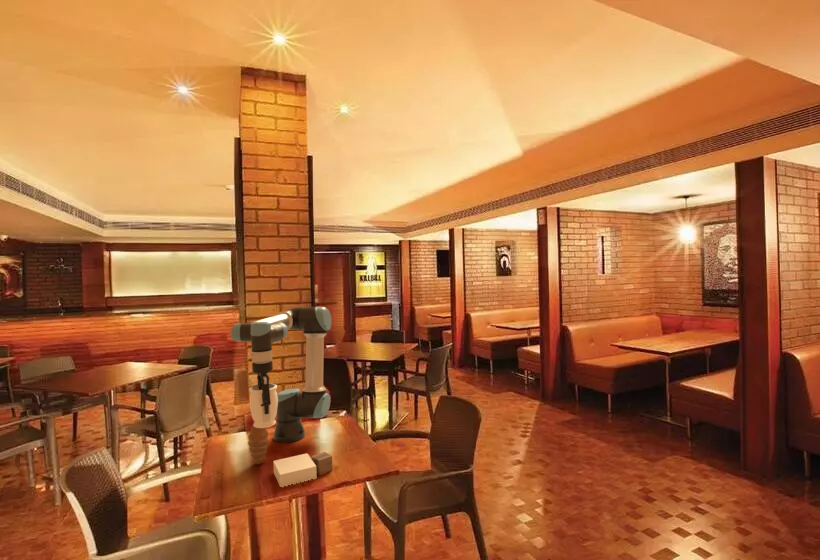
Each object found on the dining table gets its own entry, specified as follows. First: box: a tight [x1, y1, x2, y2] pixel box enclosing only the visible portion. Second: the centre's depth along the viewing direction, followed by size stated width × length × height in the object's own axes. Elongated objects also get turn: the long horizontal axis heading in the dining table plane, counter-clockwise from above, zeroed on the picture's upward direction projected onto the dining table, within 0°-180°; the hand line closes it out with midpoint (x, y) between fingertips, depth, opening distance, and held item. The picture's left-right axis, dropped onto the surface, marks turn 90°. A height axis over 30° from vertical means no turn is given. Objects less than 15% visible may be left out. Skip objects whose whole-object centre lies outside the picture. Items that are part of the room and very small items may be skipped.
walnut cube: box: [311, 451, 333, 476], centre depth 178 cm, size 6×6×6 cm
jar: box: [248, 383, 278, 429], centre depth 169 cm, size 11×10×15 cm
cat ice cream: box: [247, 424, 269, 465], centre depth 186 cm, size 9×8×18 cm
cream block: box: [273, 452, 318, 488], centre depth 174 cm, size 14×14×5 cm
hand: (264, 417), depth 169 cm, fingers closed on jar, 10 cm apart
